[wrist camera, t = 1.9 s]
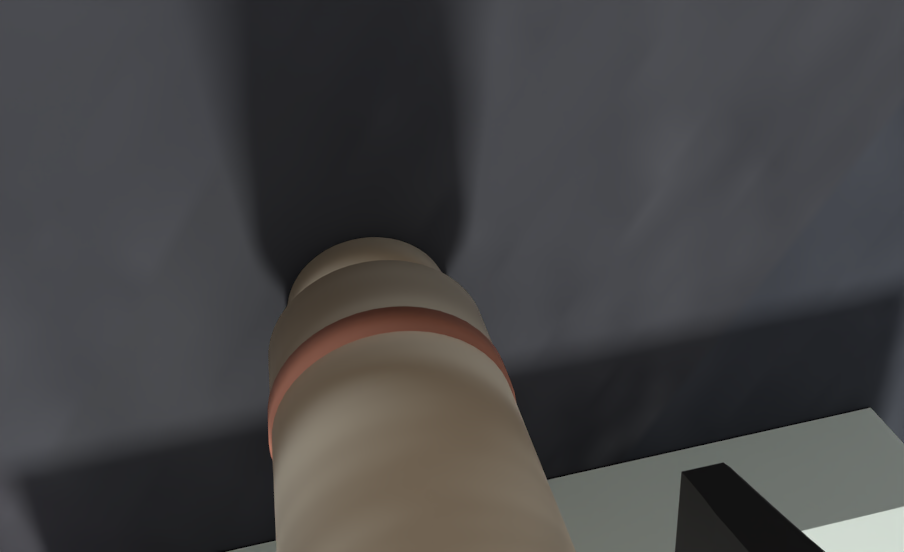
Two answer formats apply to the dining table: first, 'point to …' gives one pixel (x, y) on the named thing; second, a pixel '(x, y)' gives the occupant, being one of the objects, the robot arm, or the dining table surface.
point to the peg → (397, 416)
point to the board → (766, 470)
